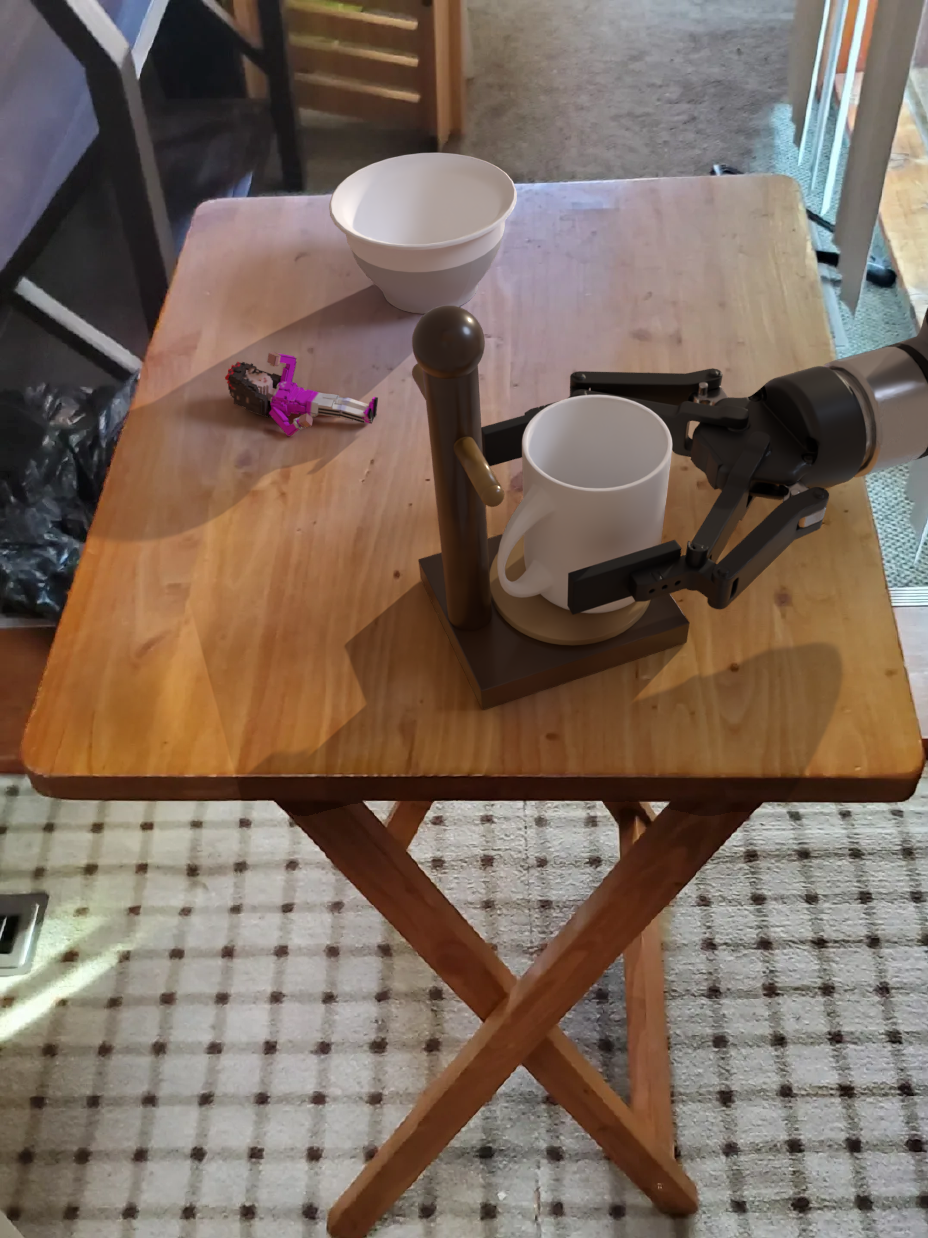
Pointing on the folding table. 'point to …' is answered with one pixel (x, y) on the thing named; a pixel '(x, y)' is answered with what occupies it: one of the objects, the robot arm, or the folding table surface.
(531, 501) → the mug
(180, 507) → the folding table surface
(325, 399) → the character figurine
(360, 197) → the bowl
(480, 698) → the mug stand
